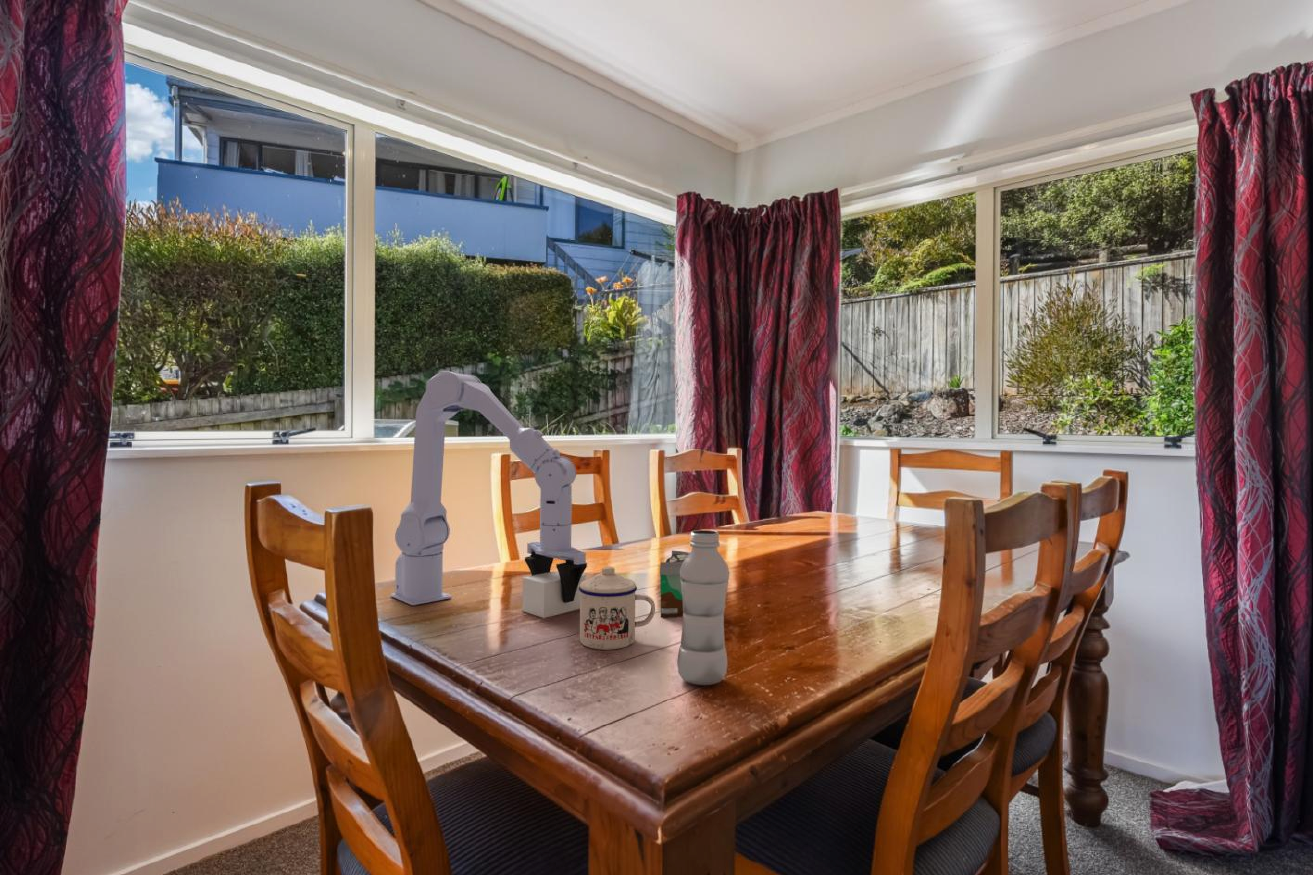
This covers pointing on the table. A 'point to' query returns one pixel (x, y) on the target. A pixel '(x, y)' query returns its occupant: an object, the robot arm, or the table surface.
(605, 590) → the teacup with lid
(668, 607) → the food container
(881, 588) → the table surface
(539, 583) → the white block
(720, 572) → the plastic bottle
